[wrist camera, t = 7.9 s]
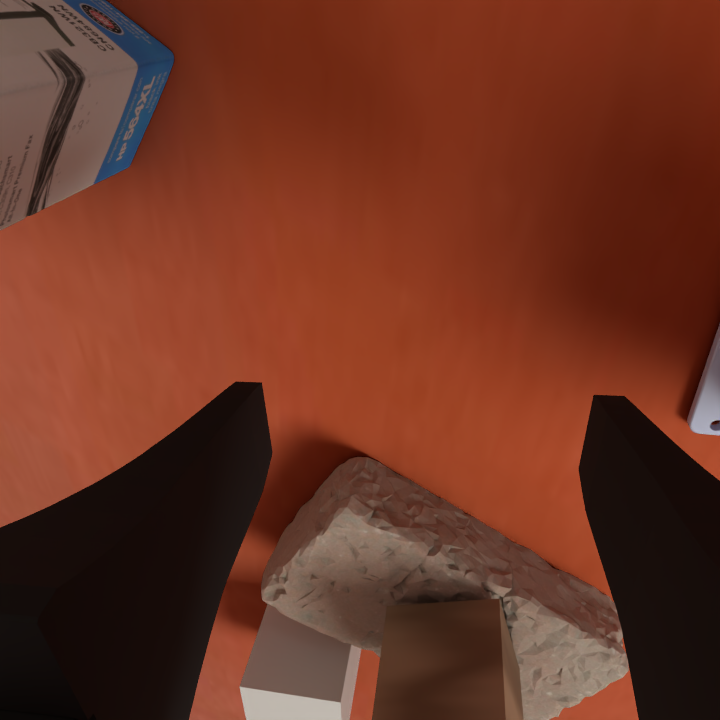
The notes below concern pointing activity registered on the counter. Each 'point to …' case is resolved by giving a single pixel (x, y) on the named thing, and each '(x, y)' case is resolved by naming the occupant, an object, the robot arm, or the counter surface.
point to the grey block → (298, 673)
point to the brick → (438, 581)
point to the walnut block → (447, 663)
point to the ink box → (71, 98)
